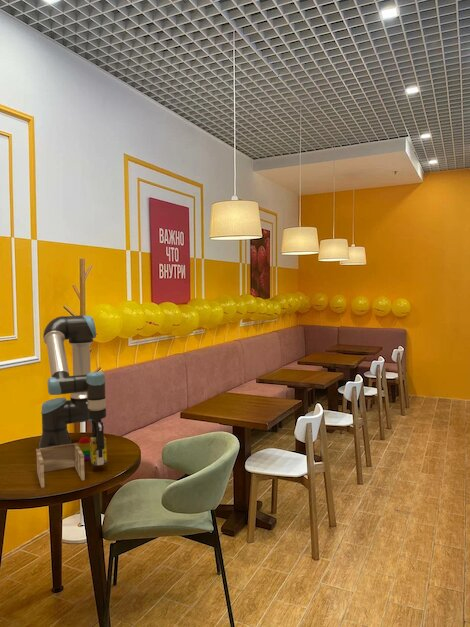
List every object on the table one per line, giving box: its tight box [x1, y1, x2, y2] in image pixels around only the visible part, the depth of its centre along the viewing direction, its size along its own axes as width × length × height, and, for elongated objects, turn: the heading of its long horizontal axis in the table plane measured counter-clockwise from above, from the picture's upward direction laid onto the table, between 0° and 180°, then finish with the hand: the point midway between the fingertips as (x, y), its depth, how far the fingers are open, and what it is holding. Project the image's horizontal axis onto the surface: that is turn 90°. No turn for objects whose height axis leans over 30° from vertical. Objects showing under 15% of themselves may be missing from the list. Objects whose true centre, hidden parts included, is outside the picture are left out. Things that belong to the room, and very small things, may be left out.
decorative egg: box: [76, 436, 90, 461], centre depth 221 cm, size 8×8×10 cm
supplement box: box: [89, 436, 108, 467], centre depth 206 cm, size 6×6×11 cm
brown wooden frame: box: [35, 442, 86, 489], centre depth 200 cm, size 19×17×10 cm
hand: (98, 462), depth 206 cm, fingers closed on supplement box, 6 cm apart
